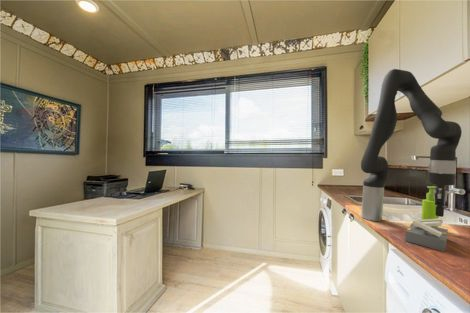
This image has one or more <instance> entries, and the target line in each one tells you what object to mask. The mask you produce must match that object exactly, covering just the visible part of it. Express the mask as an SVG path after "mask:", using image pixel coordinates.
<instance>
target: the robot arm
mask: <svg viewBox="0 0 470 313" xmlns="http://www.w3.org/2000/svg"><path fill="white" fill-rule="evenodd" d="M398 92H400V93H402V94H403V95H405V97H406V98H407V99H408V102H409V106H410V109H411V111H412V112H413V113H414V115H415V116H416V117H417V118H418V120H419V121H420V122H421V124H422V127H423V129H424V132H425V133H426V134H427V135H428V136H430V137H431V138H432V139H437V143H436V144H435V145H433V146H432V147H430V157H429V158H430V159H429V164H428V175H427V176H428V177H427V178H428V179H427V182H428V184H433V185H436V186H435V187H436V188H434V189H433V193H434V200H435V206H436V216H439V217H440V218H442V217H444V216H445V215H444V214H445V207H446V202H447V200H448V193H449V188H448V189H447V188H446V186H455V185H456V178H457V177H456V176H457V175H456V173H457V166H456V165H457V164H456V157H457V156H456V153H457V151H456V150H457V147H458V145H459V143H460V141H461V137H462V127H461V125H460V124H459V123H457V122H455V121H452V120H451V121H450V120H445V119H444V118H442V116H443V112H442V110H441V108H439V106H438V105H436V103H435V102H434V101H433V100H432V99H431V98H430V97H429V96H428V95H427V94H426V92H425V90H423V88H422V87H421V85H420V84H419V82H418V81H417V79H416V76H415V75H414V74H413V73H412V72H411V71H408V70H403V69H398V68H393V69H391V70H389V71H387V72H386V74H385V75H384V77H383V80H382V84H381V88H380V96H379V101H378V104H377V105H378V106H377V109H376V113H375V117H374V120H373V124H372V127H371V131H370V135H369V139H368V142H367V145H366V148H365V150H364V153H363V156H362V159H361V161H360V162H361V163H360V169H361V170H362V172H364V173H365V174H369V176H368V177H367V178H365V179H364V180H363V182H362V183H363V184H362V185H363V186H362V202H361V204H362V206H361V218H363V219H364V220H368V221H372V222H382V221H383V215H384V198H385V197H384V195H385V184H386V182H387V178H388V171H389V163H388V160H387V159H386V158H385V157H383V156H380V152H381V150H382V148H383V146H384V145H385V144H386V143H387V142H388V141H389V139H390V138H391V137H392V136H393V135H394V131H395V129H396V126H397V123H398V122H397V121H398V113H397V108H396V103H395V101H396V96H397V93H398Z"/></svg>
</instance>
